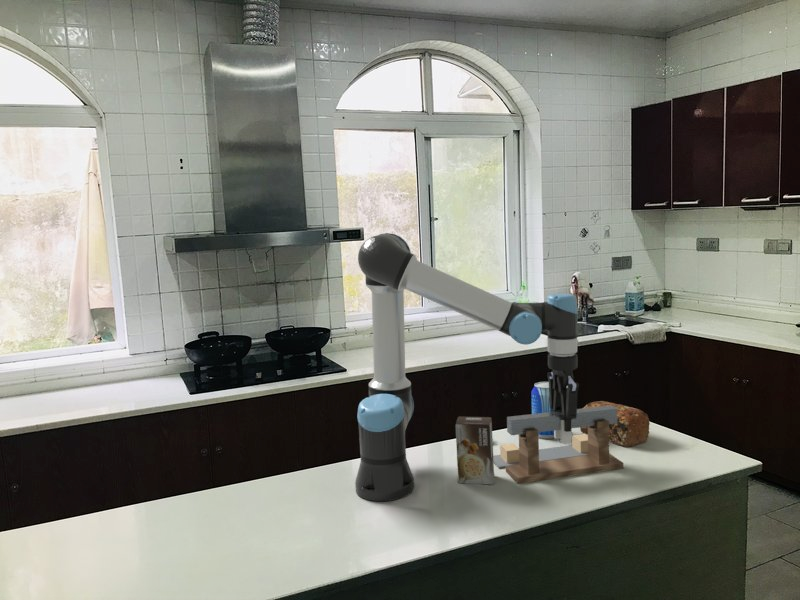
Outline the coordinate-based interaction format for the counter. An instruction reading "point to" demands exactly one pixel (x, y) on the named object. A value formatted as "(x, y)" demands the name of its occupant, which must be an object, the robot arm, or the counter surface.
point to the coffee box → (474, 450)
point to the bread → (625, 425)
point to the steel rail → (553, 422)
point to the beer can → (541, 404)
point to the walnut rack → (563, 467)
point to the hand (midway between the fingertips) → (562, 439)
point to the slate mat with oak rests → (543, 452)
